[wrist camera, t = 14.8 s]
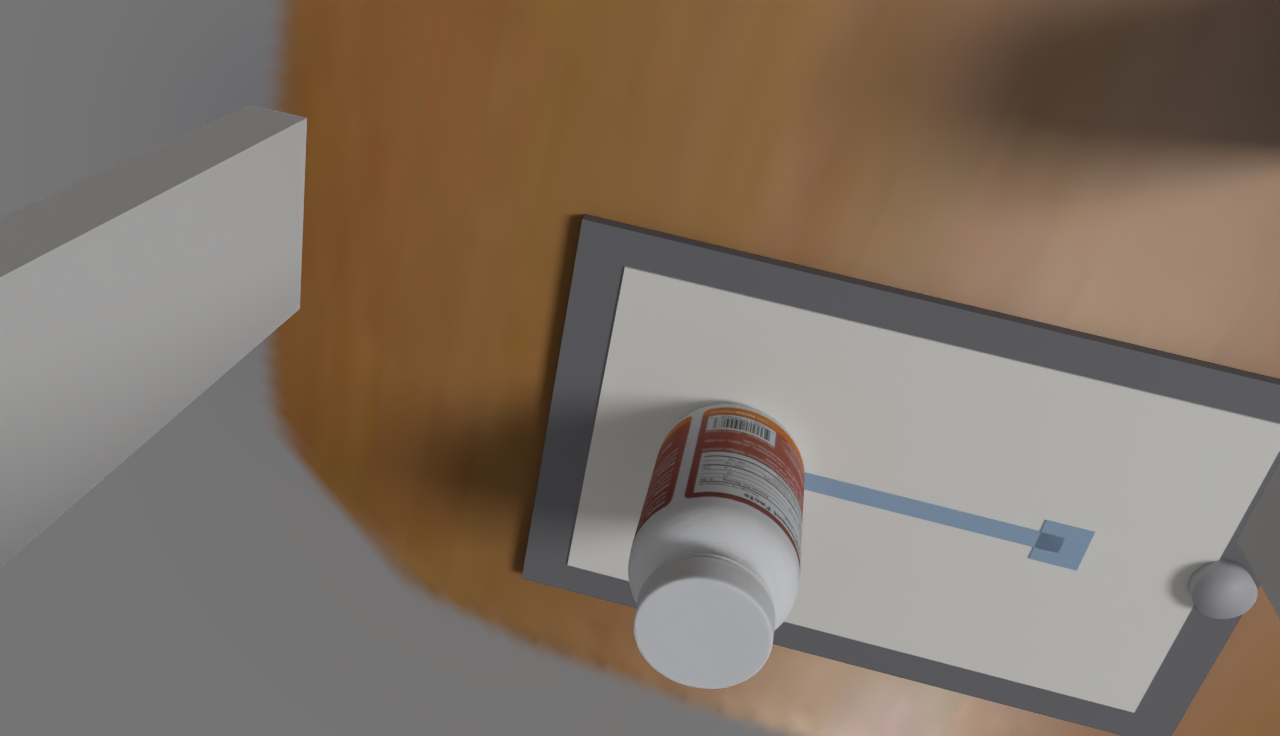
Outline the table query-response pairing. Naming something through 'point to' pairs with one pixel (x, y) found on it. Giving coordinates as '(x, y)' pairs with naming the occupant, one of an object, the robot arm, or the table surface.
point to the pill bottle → (718, 546)
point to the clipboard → (924, 473)
